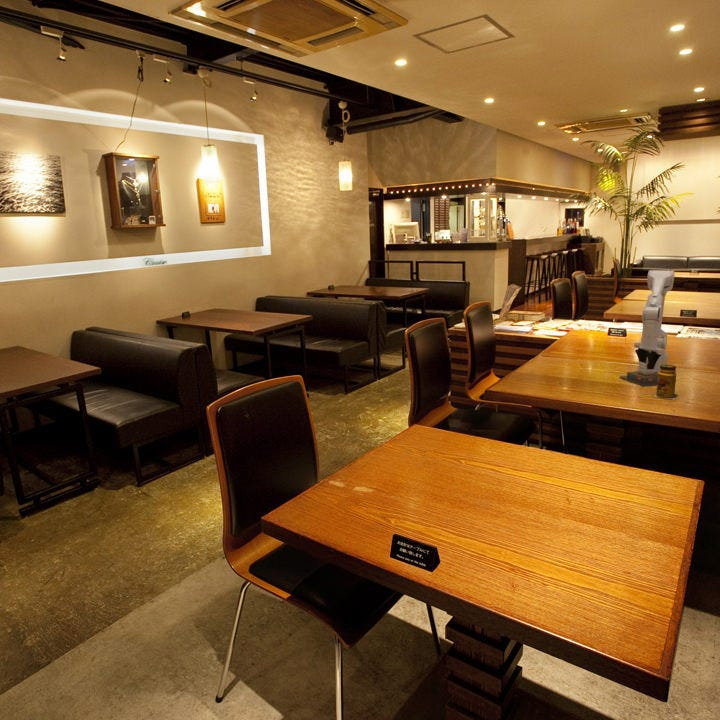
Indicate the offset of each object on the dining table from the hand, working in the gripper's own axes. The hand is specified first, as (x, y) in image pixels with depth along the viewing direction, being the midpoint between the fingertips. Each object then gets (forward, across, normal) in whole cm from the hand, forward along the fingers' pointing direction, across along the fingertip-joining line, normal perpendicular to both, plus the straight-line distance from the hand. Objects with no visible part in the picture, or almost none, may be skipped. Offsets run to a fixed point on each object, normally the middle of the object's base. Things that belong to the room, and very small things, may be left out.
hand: (646, 367), depth 227 cm
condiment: (+6, +19, -7) cm, 21 cm away
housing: (+6, 0, 0) cm, 6 cm away
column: (+4, 0, 0) cm, 4 cm away
